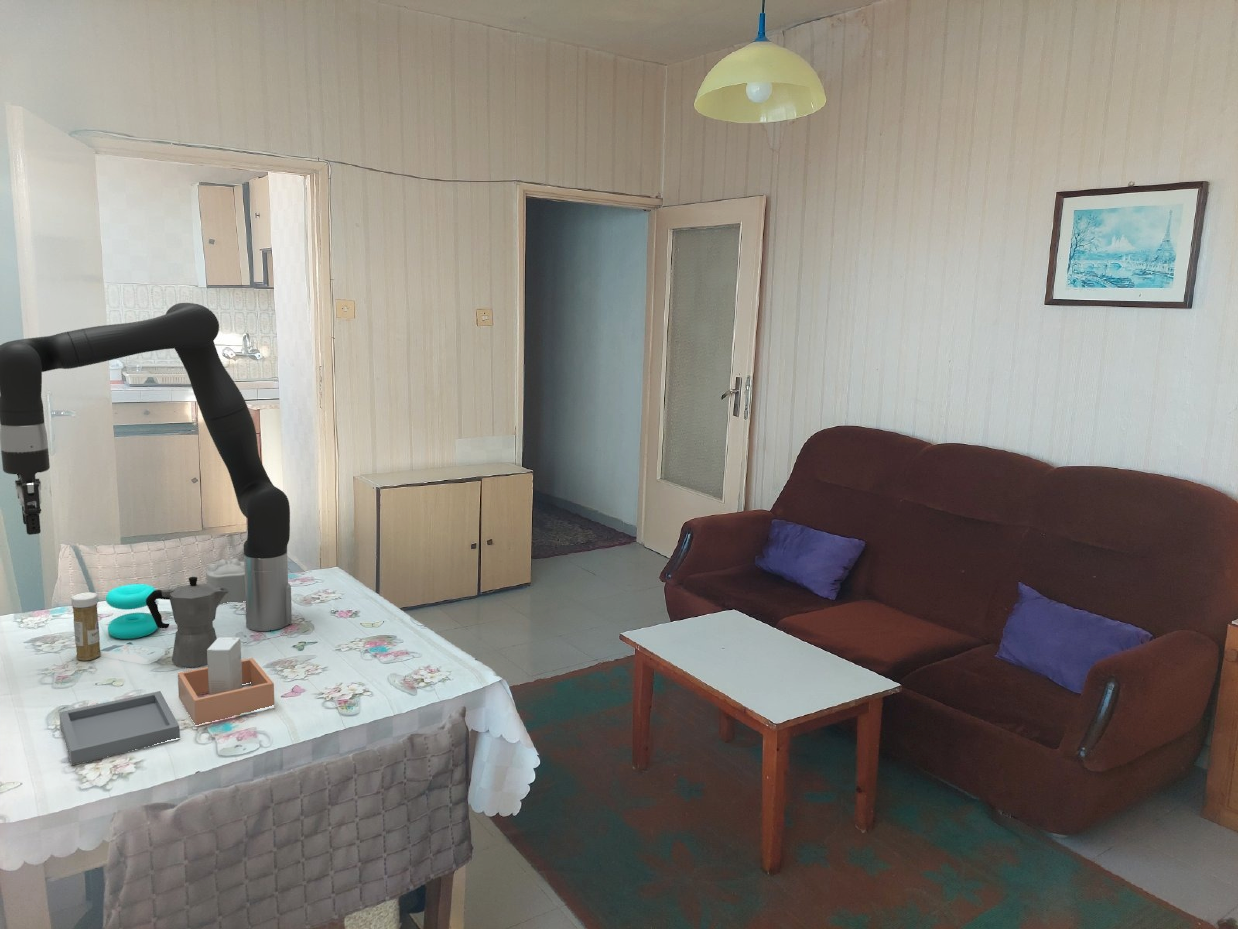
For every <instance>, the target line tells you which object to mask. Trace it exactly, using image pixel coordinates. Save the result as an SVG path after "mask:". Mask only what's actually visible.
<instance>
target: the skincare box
mask: <svg viewBox="0 0 1238 929" xmlns="http://www.w3.org/2000/svg"><path fill="white" fill-rule="evenodd" d="M241 643H242V642H241V637H229V636H228V637H226V636H225V637H222V636H221V637H217V639H216V640H215V642H214V643H213V644H212V645H211V646H210V647H209V648H208V649H207V662H208V665H207V667H208V682H209V693H208V696H209V695H214V694H219V693H223V692H228V691H232V690H237V689H241V688H244V685H243V686H242V665H241V660H242V648H241V647H242V644H241Z"/></svg>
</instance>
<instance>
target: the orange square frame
mask: <svg viewBox="0 0 1238 929" xmlns="http://www.w3.org/2000/svg"><path fill="white" fill-rule="evenodd" d="M241 665H242V684H246V683H250V682H251V684H252V685H253V686H252V685H251V684H250V685H251V686H246V687H243V688H241V689H237V690H232V691H228V692H223V693H219V694H214V695H209V682H208V666H204V667H199V668H196V669H195V668H194V669H191V670H186V671H182V672H177V685H178V686H177V687H178V689H177V690H178V698H179V701H180V702H181V704H182V706H183V705H184V706H183V707H184V709H185V711H186V713H187V712H188V713H187V714H188V716H189V715H190V716H189V718H190V717H191V718H190V719H192V720H193V721H192V720H191V721H192V723H193V722H194V723H195V725H199V724H202V723H205V722H212V721H215V720H220V719H225V718H228V717H232V716H234V715H240V714H241V713H244V712H251V711H254V710H257V709H260V708H265V707H269V706H272V705H274V706H275V683H274V682H273V680H272V679H271V678H270V677H269V676H268V675H267V673H266V672H265V671H264V670H263V668H262V667H261V666H260V665H259V663H258V662H257V661H256V660H255V659H254V658H253V657H251V658H246V659H245V658H244V659H241ZM206 694H208V695H206ZM202 695H206V696H202ZM198 696H201V697H198ZM194 723H193V724H194ZM195 725H194V726H195Z"/></svg>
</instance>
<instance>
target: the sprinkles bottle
mask: <svg viewBox="0 0 1238 929" xmlns="http://www.w3.org/2000/svg"><path fill="white" fill-rule="evenodd" d="M71 606H72V612H73V631H74V643H75V649H76V650H75V651H76V652H75V653H76V655H75V658H76V660H78V661H82V662H85V661H93V660H95V659H97V658H99V657H101V656H102V651H101V645H100V644H101V643H100V638H101V637H100V626H99V616H98V594H97V593H95V592H89V591H87V592H82V593H81V592H80V593H77V594H74V595H72V596H71Z"/></svg>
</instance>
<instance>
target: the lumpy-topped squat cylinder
mask: <svg viewBox="0 0 1238 929" xmlns="http://www.w3.org/2000/svg"><path fill="white" fill-rule="evenodd" d="M205 571H206V573H205V574H206V584H208V585H214V586H215V587H220V588H223V589H227V590H228V591H229V593H226V594H225V596H224V597H223V598H222V600H221V602H220V603H219V605H224V604H223V603H226V604H228V603H227V602H238V603H244V602H243V601H245V571H244V561H240V560H239V559H238V558H235V557H234V558H232V559H230V560H227V559H223V558H222V559H220V560H219V561H218V562H216V563H209V565H207V569H206V570H205Z"/></svg>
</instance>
